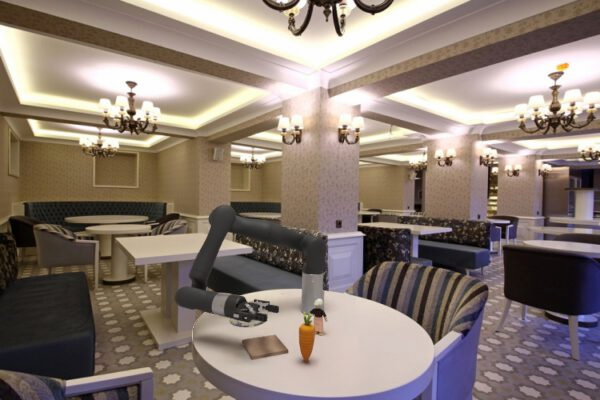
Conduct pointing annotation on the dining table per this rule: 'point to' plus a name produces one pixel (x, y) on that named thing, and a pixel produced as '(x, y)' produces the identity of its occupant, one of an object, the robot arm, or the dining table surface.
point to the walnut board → (264, 346)
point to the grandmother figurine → (318, 317)
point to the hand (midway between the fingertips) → (273, 313)
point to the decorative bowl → (244, 323)
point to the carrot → (306, 337)
